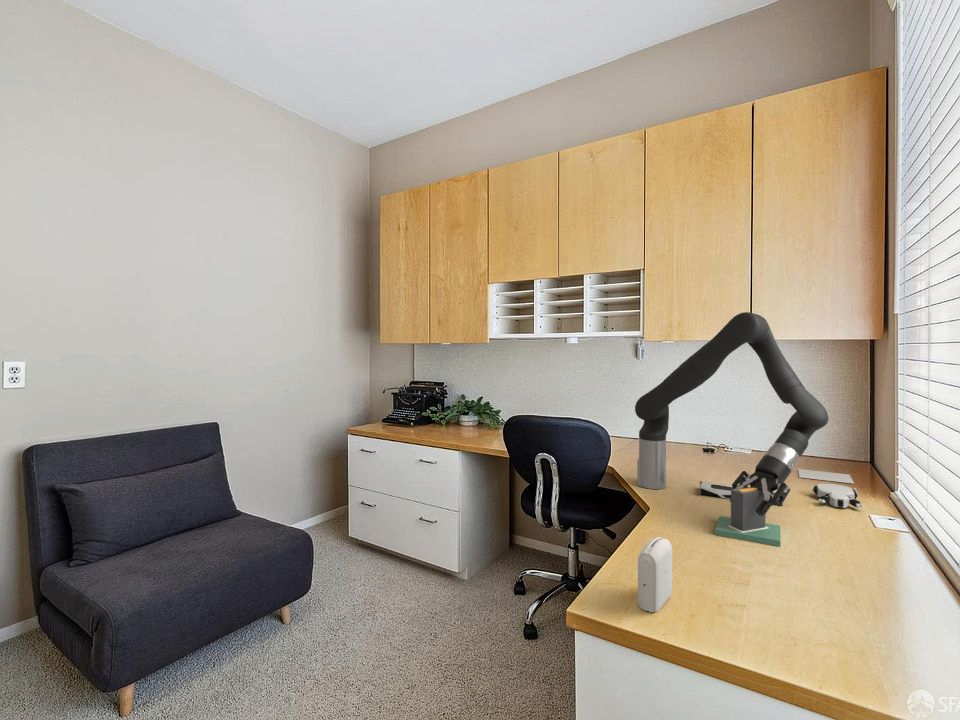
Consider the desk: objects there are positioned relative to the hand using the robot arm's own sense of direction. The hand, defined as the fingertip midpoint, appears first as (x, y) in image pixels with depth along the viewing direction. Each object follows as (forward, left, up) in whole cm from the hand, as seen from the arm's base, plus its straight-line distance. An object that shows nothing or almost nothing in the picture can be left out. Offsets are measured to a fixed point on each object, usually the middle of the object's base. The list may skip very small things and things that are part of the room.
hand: (745, 508), depth 131 cm
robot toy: (+24, +43, -7) cm, 49 cm away
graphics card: (-3, +34, -8) cm, 35 cm away
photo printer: (-13, -48, -7) cm, 50 cm away
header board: (+1, +1, -7) cm, 7 cm away
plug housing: (+1, +1, -5) cm, 5 cm away
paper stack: (+19, +73, -7) cm, 76 cm away
